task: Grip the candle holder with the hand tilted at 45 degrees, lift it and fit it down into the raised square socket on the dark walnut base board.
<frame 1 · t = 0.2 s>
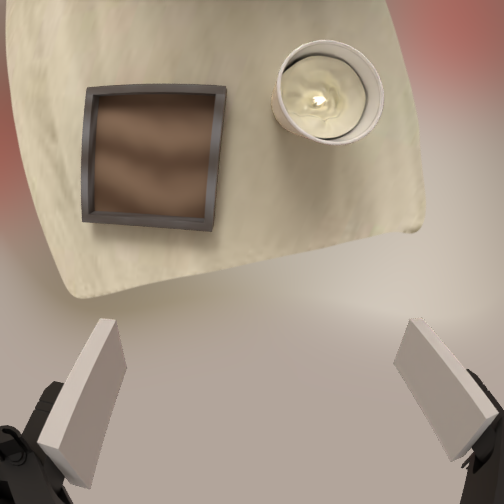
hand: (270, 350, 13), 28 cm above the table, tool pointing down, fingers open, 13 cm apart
socket base: (151, 153, 35), on the table
candle holder: (304, 103, 34), on the table
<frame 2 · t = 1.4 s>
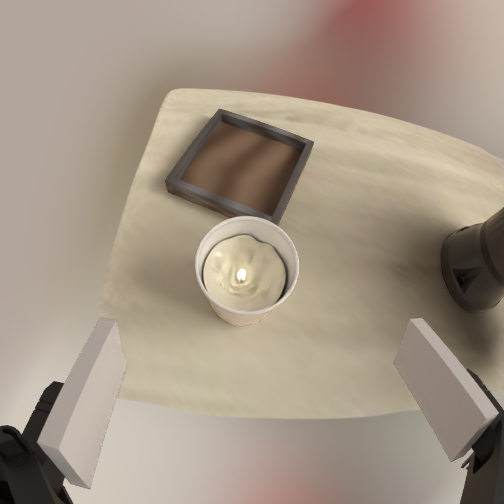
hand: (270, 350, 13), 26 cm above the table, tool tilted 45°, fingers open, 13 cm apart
socket base: (242, 170, 47), on the table
candle holder: (242, 294, 40), on the table
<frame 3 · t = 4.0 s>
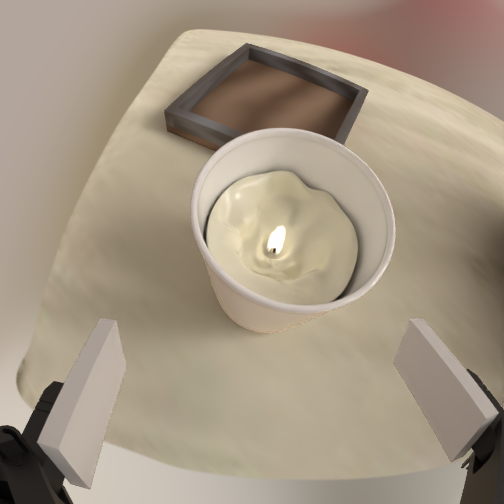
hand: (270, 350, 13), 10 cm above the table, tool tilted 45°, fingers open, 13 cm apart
socket base: (274, 113, 32), on the table
candle holder: (266, 283, 25), on the table
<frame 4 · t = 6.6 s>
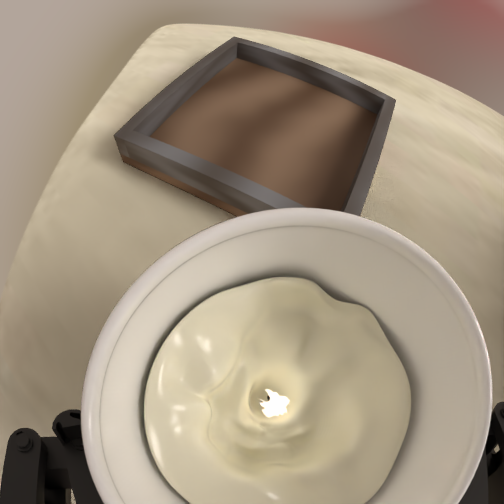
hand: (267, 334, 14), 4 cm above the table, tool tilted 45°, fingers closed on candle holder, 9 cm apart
socket base: (271, 131, 24), on the table
candle holder: (258, 397, 16), on the table, touching gripper
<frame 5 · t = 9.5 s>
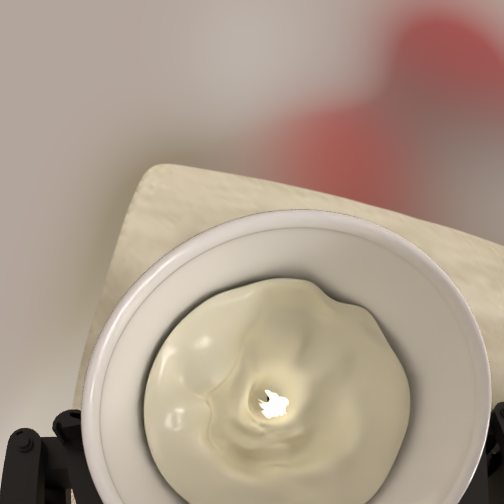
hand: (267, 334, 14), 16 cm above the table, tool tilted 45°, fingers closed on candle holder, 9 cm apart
candle holder: (258, 397, 16), point 11 cm above the table, touching gripper
when the fingers open (6 cm above the table, at t = 12.5 s): candle holder drops 1 cm, resting on socket base.
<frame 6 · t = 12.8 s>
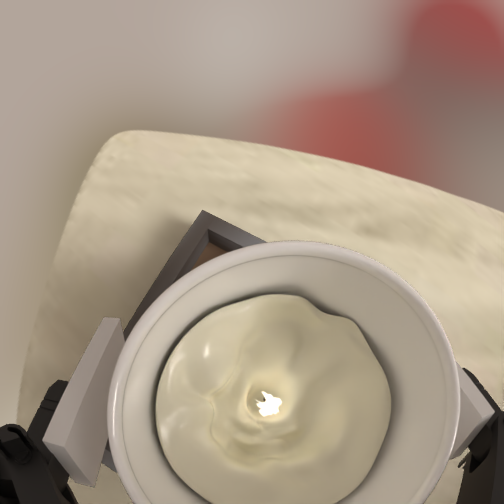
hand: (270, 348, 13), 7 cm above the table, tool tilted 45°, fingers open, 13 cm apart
socket base: (254, 394, 18), on the table
candle holder: (256, 398, 18), point 1 cm above the table, touching socket base
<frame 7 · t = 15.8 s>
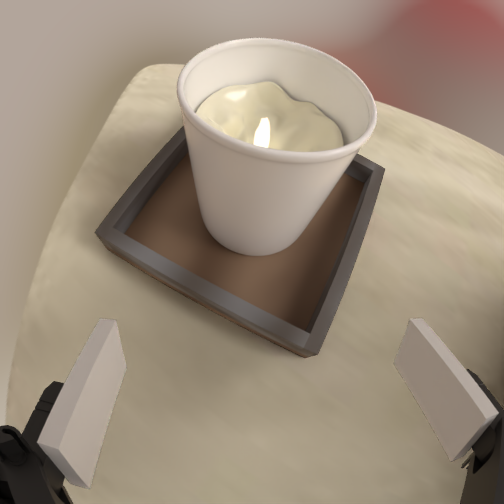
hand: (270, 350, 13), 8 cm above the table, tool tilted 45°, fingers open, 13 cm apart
socket base: (252, 212, 25), on the table
candle holder: (254, 209, 24), point 1 cm above the table, touching socket base
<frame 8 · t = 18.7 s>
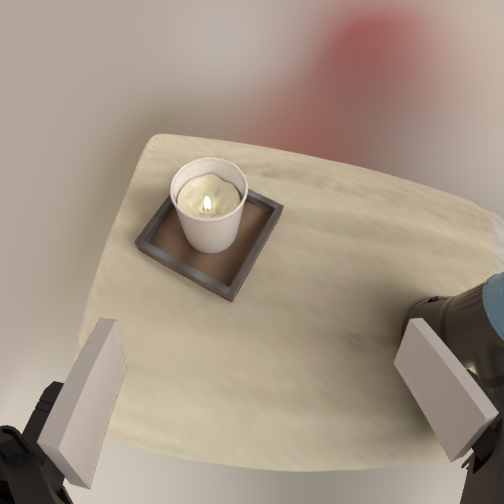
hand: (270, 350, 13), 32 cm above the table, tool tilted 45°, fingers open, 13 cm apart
socket base: (211, 231, 50), on the table
candle holder: (211, 230, 49), point 1 cm above the table, touching socket base
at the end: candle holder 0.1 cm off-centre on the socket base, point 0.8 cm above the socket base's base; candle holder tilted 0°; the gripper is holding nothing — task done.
